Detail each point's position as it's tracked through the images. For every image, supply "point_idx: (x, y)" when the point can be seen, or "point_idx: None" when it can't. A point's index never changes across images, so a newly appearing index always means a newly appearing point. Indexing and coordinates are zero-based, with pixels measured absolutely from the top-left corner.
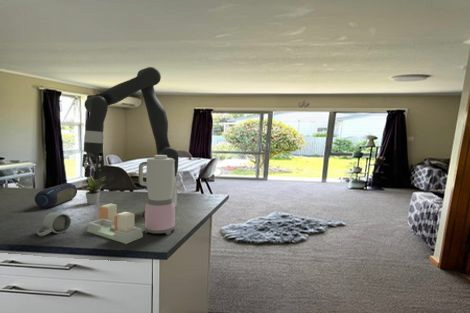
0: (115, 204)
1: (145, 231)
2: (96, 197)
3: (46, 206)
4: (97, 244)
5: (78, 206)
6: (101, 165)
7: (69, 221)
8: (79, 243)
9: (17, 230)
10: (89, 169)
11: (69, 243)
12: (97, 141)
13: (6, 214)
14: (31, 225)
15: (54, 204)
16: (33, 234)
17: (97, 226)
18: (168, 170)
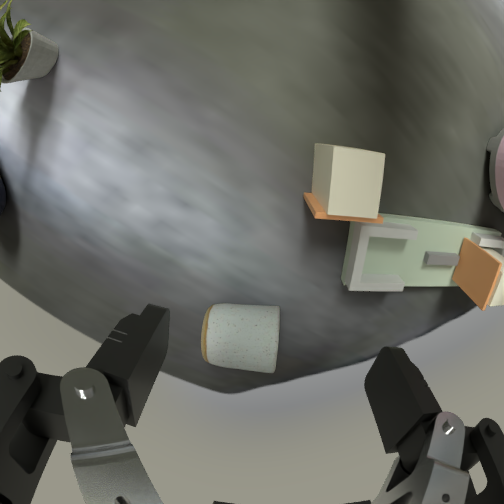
0: (376, 153)
1: (494, 203)
2: (42, 47)
3: (4, 205)
4: (427, 316)
5: (39, 116)
6: (497, 464)
7: (273, 313)
8: (385, 334)
9: None
10: (131, 385)
11: (363, 345)
12: None
13: (16, 288)
14: None
15: (2, 183)
16: None
17: (396, 289)
18: None
